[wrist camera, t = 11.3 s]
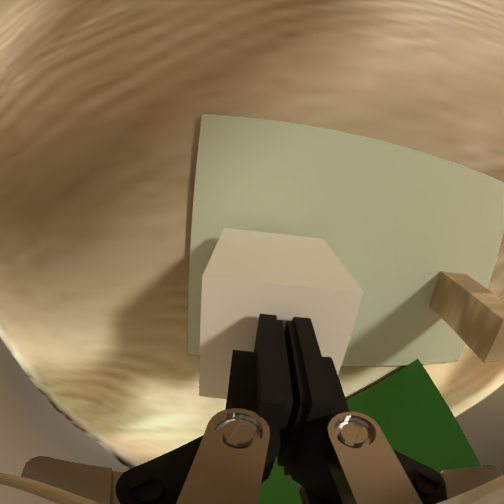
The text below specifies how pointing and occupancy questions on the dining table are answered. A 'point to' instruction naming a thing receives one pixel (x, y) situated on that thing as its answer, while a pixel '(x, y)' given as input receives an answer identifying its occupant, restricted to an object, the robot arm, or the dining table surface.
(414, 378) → the hardback book
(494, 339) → the post
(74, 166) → the dining table surface
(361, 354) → the mat
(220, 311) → the beige foam cube
